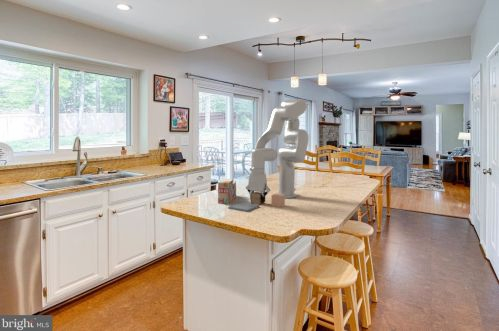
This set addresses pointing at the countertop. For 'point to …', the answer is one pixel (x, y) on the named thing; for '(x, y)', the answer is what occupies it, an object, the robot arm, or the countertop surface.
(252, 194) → the walnut brick
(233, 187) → the stack of blocks
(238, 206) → the baseplate
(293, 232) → the countertop surface
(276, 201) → the salmon pink cube
